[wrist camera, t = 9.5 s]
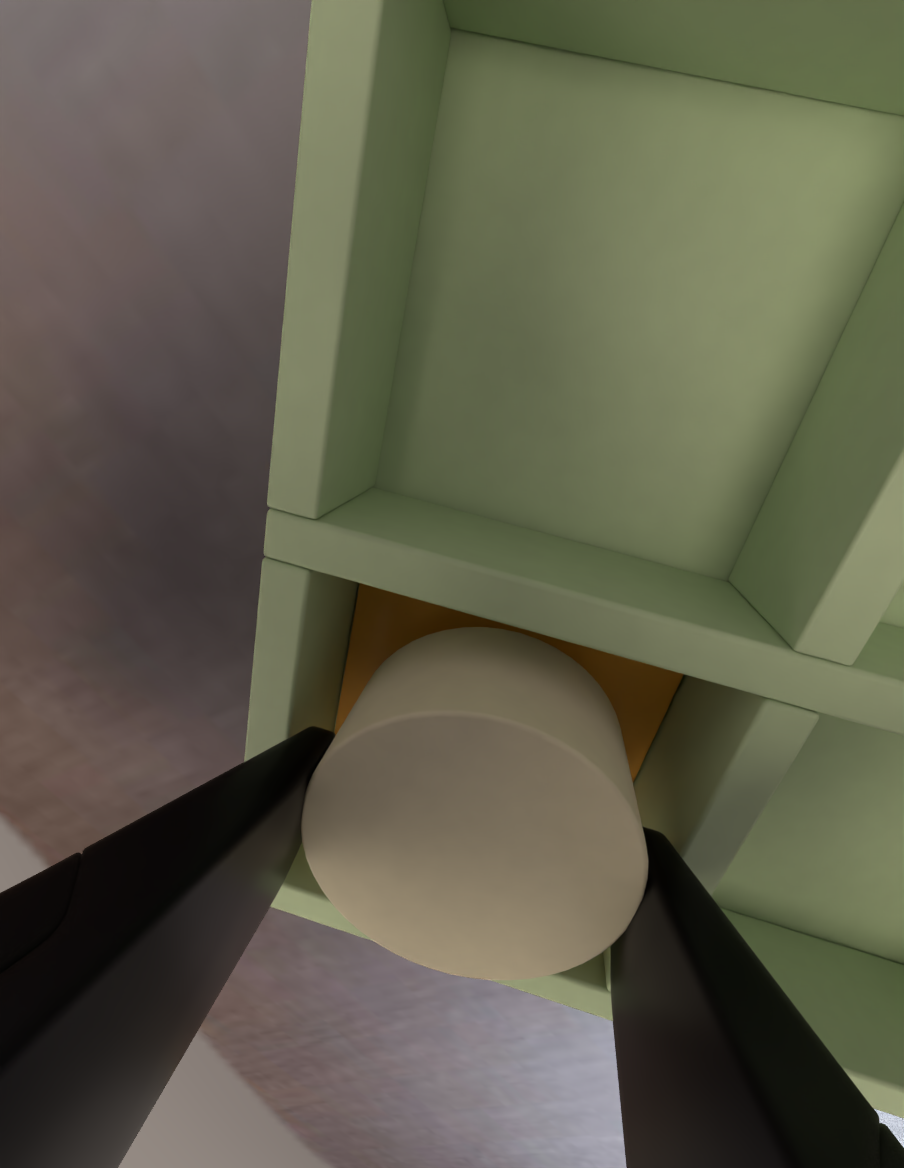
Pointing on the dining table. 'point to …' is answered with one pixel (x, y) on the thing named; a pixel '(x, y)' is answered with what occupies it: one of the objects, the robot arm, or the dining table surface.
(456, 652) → the cylinder
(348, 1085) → the dining table surface
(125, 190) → the dining table surface
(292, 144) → the dining table surface
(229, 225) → the dining table surface
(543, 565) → the grid
